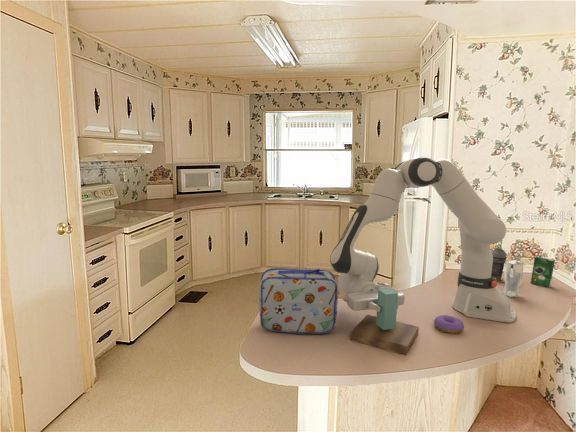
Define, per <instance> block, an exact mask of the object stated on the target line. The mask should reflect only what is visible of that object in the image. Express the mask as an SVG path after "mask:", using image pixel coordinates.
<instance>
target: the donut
mask: <svg viewBox="0 0 576 432" xmlns="http://www.w3.org/2000/svg"><path fill="white" fill-rule="evenodd" d="M433 321H434V322H433V324H434V326H435V328H436V329H437V330H438V331H441V332H443V333H445V334H447V333H448V334H454V335H455V334H459V333H460V334H461V333H462V332H463V331H464V330H465V323H464V322H463V320H461V319H459V318H458V317H455V316H453V315H452V316H451V315H448V314H441V315H438V316H436V317H435V318H434V320H433Z"/></svg>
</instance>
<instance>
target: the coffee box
mask: <svg viewBox="0 0 576 432" xmlns="http://www.w3.org/2000/svg"><path fill="white" fill-rule="evenodd" d="M555 261H556V260H555V259H552V258H551V259H550V258H546V257H540V256H534V261H533V266H532V272H531V279H530V280H531V281H530V284H533V285H538V286H540V287H541V286H542V287H545V288H550V287H551V285H552V280H553V273H554V268H555Z"/></svg>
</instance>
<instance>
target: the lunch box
mask: <svg viewBox="0 0 576 432" xmlns="http://www.w3.org/2000/svg"><path fill="white" fill-rule="evenodd" d="M260 277H261V278H260V283H259V291H258V292H259V293H258V294H259V295H258V308H259V309H258V310H259V317H260V318H259V321H260V326H261V327H262V328H263V329H264V330H265V331H269V332H270V331H271V332H279V333H287V334H290V333H291V334H320V335H321V334H327V333H331V332H332V331H333V330H334V329H335V326H336V323H337V322H336V321H337V315H338V304H339V302H338V300H339V299H338V298H339V295H340V291H339V287H338V286H339V284H338V281H336V278H335V275H334V274H333V273H332V272H331V271H329V270H324V269H320V268H316V269H299V268H281V267H279V268H277V267H276V268H269V269H266V270H264V272H263V273H262V274H261V276H260Z"/></svg>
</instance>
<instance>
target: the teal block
mask: <svg viewBox="0 0 576 432" xmlns="http://www.w3.org/2000/svg"><path fill="white" fill-rule="evenodd" d="M397 301H398V293H397V292H395V291H393V290H392V289H381V290H378V302H377V305H381V306H382V307H383V309H382V311H381V312H377V311H376V325H378V326H379V327H380V328H382V329H383V330H387V329H394V328H396V321H397V312H398V309H397Z"/></svg>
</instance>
